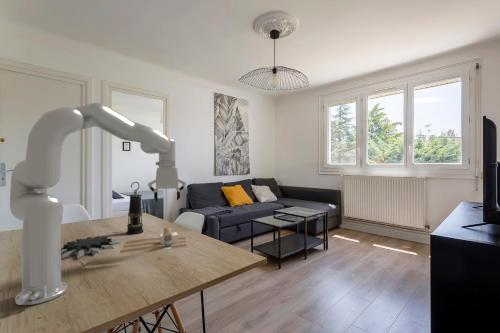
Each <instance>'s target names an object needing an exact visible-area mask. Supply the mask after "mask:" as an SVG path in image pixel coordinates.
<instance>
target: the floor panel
mask: <svg viewBox="0 0 500 333" xmlns="http://www.w3.org/2000/svg"><path fill="white" fill-rule="evenodd" d="M125 241H126V242H125V243H124V245H123V246H122V248H121V249H120V251H119V252H118V255H119V254H120V255H121V254H130V253H139V252H150V251H161V250H170V249H171V250H172V249H181V248H182V249H183V248H187V240H186V235H177V243H171V247H165V244H161V245H160V237H152V238H151V237H150V238H140V239H128V240H125Z"/></svg>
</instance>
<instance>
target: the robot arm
mask: <svg viewBox="0 0 500 333" xmlns="http://www.w3.org/2000/svg"><path fill="white" fill-rule="evenodd" d="M93 127H95V128H96V127H97V128H98V129H101V130H102V131H105V132H106V133H109V134H111V135H113V136H115V137H116V138H118V139H120V140H122V141H123V140H124V141H127V142H133V143H134V142H135V143H140V144H139V147H140V150H141V151H142V152H144V153H146V154H148V155H149V154H150V155H155V154H158V161H157V162H155V165H156V166H158V167H157V168H156V171H155V179H154V180H152V181H150V182H148V183H147V186H148V188H149V190H150V191H151V192H153V200H155V202H158V201H159V199H158V197H159V195H158V191H159V190H165V189H166V190H168V189H169V190H171V189H175V190H176V200H177V201H179V199H181V192H182V191H183V190H184V189H185V186H186V185H187V182H185V181H183V180H181V179H179V173H178V172H179V171H178V167H176V141H175V139H173V138H168V137H167V136H166V135H164V134H163V133H161V132H160V131H158V130H156V129H155V128H152V127H150V126H147V125H143V124H141V123H139V122H135V121H133V120H131V119H129V118H128V117H126V116H125V115H123V114H121V113H119V112H117V110H114V109H112V107H109V106H107V105H106V104H104V103H101V102H92V103H89V104H84V105H80V106H74V107H71V106H65V107H64V106H63V107H59V108H56V109H52V110H49V111H46V112H44V113H43V114H42V115H41V117H40V118H39V119H38V120H36V122H35V123H34V125H33V126H32V127H31V129H30V132H29V134H28V138H27V144H26V152H25V159H24V160H21V161H20V162H18V163H17V164H16V165H15V166H14V167H13V169H12V172H11V177H10V178H11V179H10V189H9V190H10V191H9V192H10V194H9V210H10V213H11V214H12V215H13V216H12V217H14V218H16V219H17V220H20V221H23V224H22V229H21V235H20V248H21V249H20V254H21V255H20V256H21V257H20V258H21V260H20V262H21V264H20V265H21V291H20V292H19V293H18V294H17V295H16V296H15V297H14V303H15V304H16V305H18V306H32V305H37V304H42V303H45V302H48V301H52V300H54V299H55V298H58V297H60V296H62V295H63V294H64V293H65V292H66V291H68V283H66V282H63V281H62V260H61V247H62V242H61V241H62V238H61V236H62V222H63V217H64V206H63V203H62V200H60V198H58V197H57V196H56V195H54V194H51V193H48V189H50V188H52V187H54V186H56V185H57V184H58V183H59V182H60V178H61V171H62V169H61V167H62V150H63V145H64V142H65V140H66V138H68V136H69V135H71V134H73V133H76V132H78V131H81V130H86V129H90V128H93ZM154 184H155V188H154V187H153V185H154ZM179 184H182V185H181V186H180V187H179Z"/></svg>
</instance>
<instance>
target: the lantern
mask: <svg viewBox="0 0 500 333" xmlns="http://www.w3.org/2000/svg"><path fill="white" fill-rule="evenodd" d="M130 184H131V185H130V188H133V185H134V184H137V185H138V187H137V189H135V190H134V191H133V193H134V194H129V195H128V196H129V205H128V208H129V209H128V212H127V217H128V218H127V219H128V220H127V225H126V227H127V231H126V235H129V234H130V235H133V236H134V234H135V235H140V234H142V233H144V229H143V224H144V223H143V217H142V216H143V212H142V196H143V194H137V192H138V190H139V189H140V184H139V182H138V181H133V182H132V183H130ZM130 235H129V236H130Z"/></svg>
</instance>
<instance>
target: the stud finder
mask: <svg viewBox="0 0 500 333" xmlns="http://www.w3.org/2000/svg"><path fill="white" fill-rule="evenodd" d="M159 236H160V237H159V238H160V245H161V244H165V241H164V232H163V233H160V235H159ZM177 236H178V231H175V232H172V240H171V243H177Z"/></svg>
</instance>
